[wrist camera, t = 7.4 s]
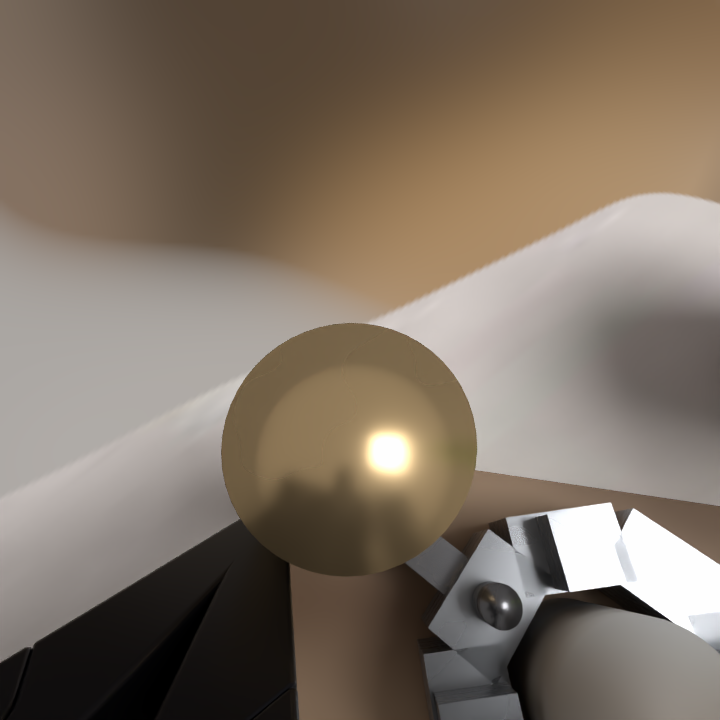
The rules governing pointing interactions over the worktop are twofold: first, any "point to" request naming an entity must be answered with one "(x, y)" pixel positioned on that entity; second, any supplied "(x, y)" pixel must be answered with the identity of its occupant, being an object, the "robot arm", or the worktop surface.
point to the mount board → (394, 601)
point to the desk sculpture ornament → (430, 509)
